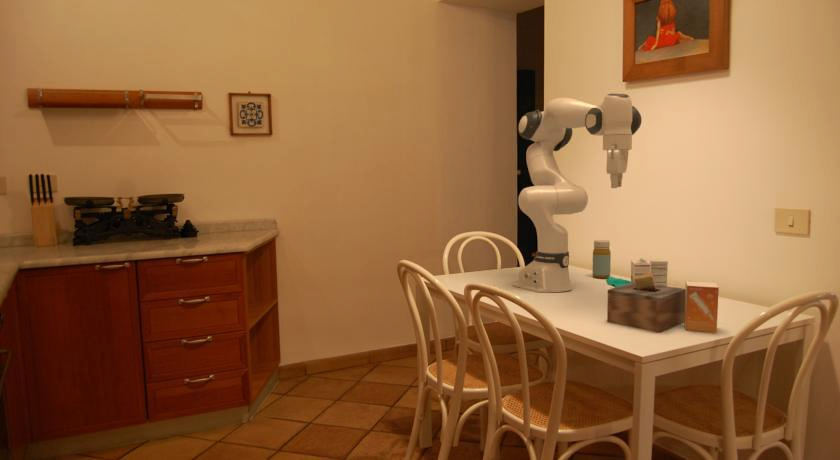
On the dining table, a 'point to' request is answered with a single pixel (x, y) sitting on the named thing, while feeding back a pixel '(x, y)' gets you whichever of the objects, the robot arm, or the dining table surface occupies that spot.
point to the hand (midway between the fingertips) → (616, 187)
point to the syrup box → (639, 268)
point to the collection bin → (646, 307)
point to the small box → (701, 306)
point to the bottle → (601, 259)
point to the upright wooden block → (645, 282)
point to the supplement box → (658, 270)
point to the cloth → (617, 281)
